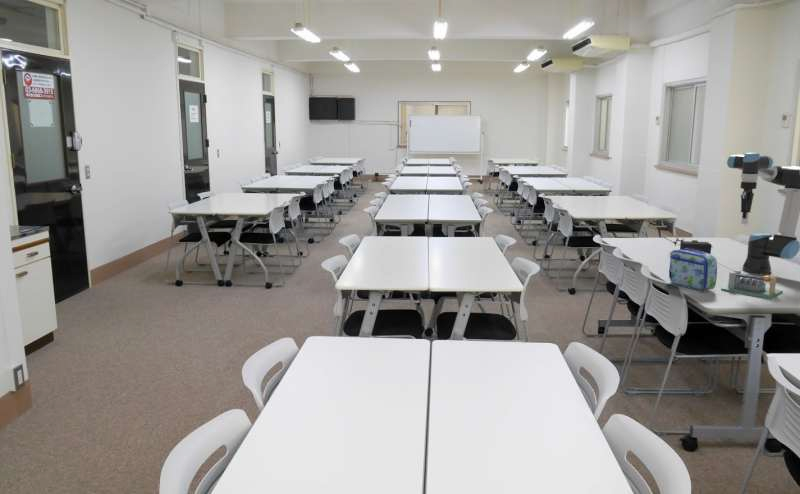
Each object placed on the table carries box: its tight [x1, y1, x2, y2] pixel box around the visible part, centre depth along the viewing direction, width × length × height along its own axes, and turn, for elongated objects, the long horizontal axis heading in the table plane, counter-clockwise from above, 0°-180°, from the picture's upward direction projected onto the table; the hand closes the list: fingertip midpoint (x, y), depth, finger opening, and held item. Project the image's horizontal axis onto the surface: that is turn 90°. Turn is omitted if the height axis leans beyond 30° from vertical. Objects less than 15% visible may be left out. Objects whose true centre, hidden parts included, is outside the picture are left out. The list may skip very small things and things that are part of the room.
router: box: [679, 239, 713, 255], centre depth 362 cm, size 8×18×20 cm, turn 78°
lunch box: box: [668, 248, 718, 291], centre depth 331 cm, size 26×11×21 cm, turn 21°
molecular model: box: [668, 236, 685, 255], centre depth 400 cm, size 25×12×16 cm, turn 156°
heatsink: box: [736, 277, 767, 293], centre depth 323 cm, size 10×11×6 cm
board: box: [720, 269, 783, 300], centre depth 322 cm, size 19×24×10 cm
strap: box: [736, 273, 773, 282], centre depth 321 cm, size 4×16×2 cm, turn 42°
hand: (744, 224), depth 331 cm, fingers closed
